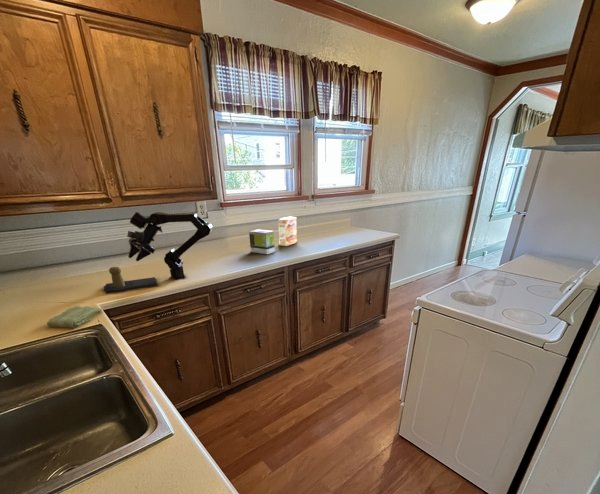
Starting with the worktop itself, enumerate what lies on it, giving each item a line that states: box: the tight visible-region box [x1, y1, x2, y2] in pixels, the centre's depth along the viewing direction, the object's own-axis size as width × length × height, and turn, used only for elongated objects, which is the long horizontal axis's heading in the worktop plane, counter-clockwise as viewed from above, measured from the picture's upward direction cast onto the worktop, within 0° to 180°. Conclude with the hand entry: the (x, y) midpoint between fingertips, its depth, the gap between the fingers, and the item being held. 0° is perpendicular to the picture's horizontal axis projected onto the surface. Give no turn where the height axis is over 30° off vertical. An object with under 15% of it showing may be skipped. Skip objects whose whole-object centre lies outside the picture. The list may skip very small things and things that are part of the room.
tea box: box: [248, 229, 276, 255], centre depth 230 cm, size 15×10×15 cm, turn 58°
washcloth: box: [46, 305, 103, 329], centre depth 134 cm, size 13×18×3 cm
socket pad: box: [103, 276, 158, 294], centre depth 170 cm, size 25×14×2 cm, turn 117°
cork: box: [108, 266, 126, 288], centre depth 166 cm, size 6×6×11 cm
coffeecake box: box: [278, 216, 298, 247], centre depth 251 cm, size 15×7×20 cm, turn 147°
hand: (132, 259), depth 169 cm, fingers open, 9 cm apart
